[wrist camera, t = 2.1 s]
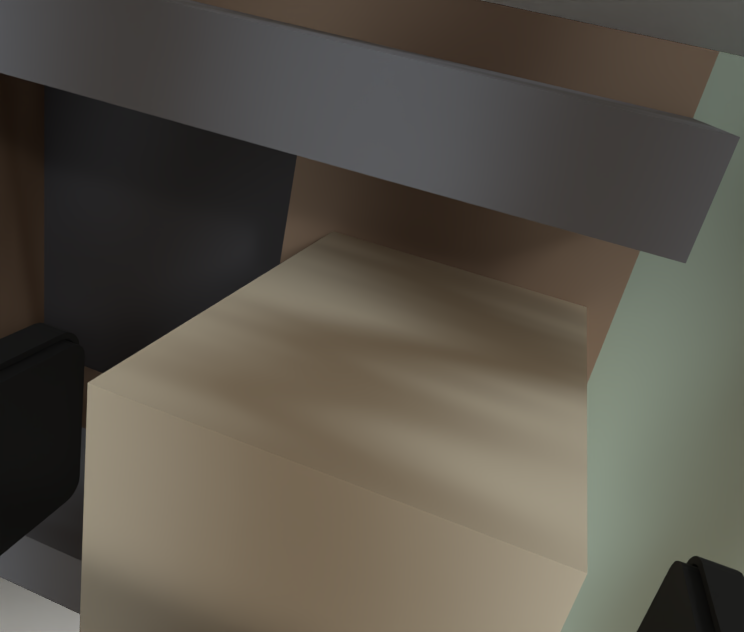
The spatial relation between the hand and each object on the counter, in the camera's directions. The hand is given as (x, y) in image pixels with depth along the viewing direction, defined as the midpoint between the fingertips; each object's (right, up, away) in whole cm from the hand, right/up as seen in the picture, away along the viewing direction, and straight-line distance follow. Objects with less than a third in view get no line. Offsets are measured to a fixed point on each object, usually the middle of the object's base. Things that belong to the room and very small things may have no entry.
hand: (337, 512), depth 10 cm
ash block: (+2, +2, +3) cm, 4 cm away
